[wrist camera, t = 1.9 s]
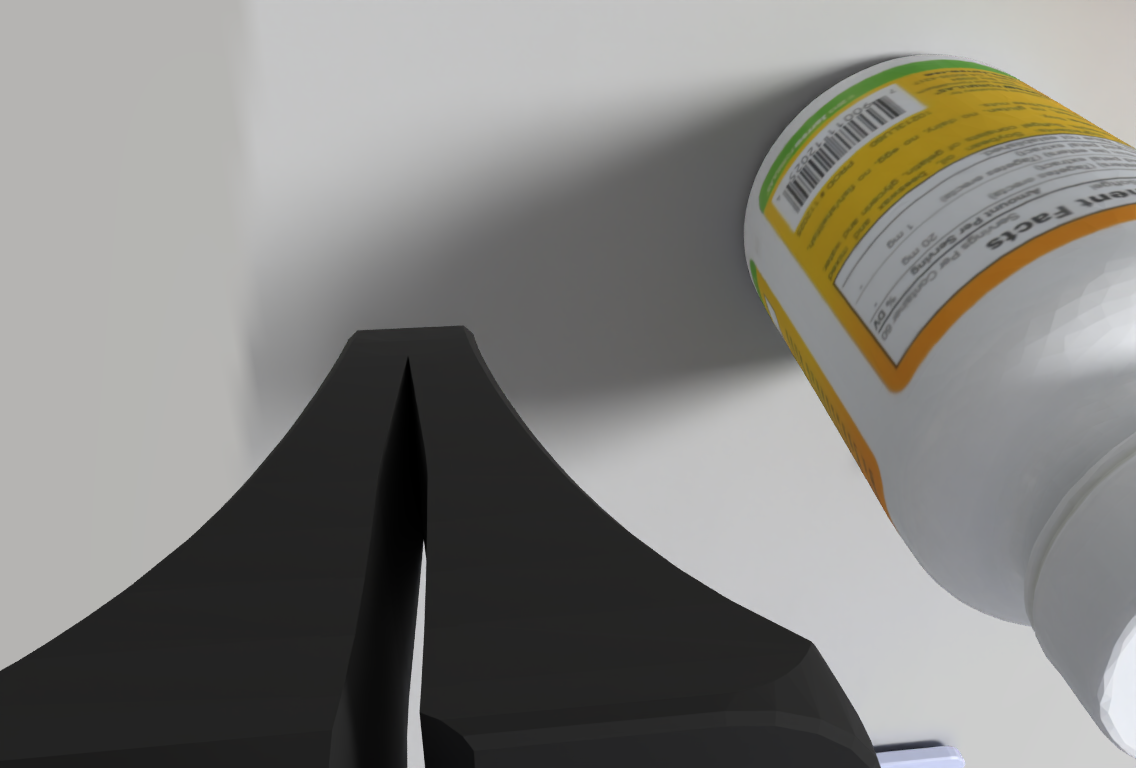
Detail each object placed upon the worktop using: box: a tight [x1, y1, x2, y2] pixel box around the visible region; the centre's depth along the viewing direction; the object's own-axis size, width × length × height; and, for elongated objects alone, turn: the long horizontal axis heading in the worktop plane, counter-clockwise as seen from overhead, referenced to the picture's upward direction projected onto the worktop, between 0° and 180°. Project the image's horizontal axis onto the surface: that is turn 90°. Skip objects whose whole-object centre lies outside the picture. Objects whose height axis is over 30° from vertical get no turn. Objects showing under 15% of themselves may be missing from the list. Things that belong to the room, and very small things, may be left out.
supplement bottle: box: [744, 55, 1136, 759], centre depth 13 cm, size 5×5×10 cm
